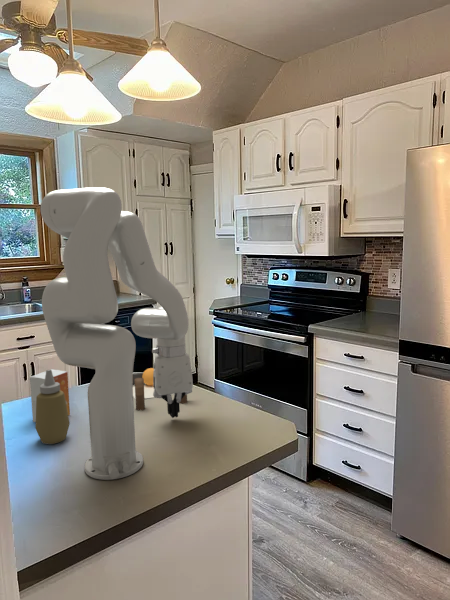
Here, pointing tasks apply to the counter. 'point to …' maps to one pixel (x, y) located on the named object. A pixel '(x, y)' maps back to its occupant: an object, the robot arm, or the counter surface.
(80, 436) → the counter surface
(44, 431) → the squeeze bottle
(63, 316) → the robot arm
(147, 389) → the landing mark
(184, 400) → the right post
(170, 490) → the counter surface
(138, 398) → the left post
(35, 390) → the small box
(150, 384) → the ball
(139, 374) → the stopper wall
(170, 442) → the counter surface
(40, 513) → the counter surface
